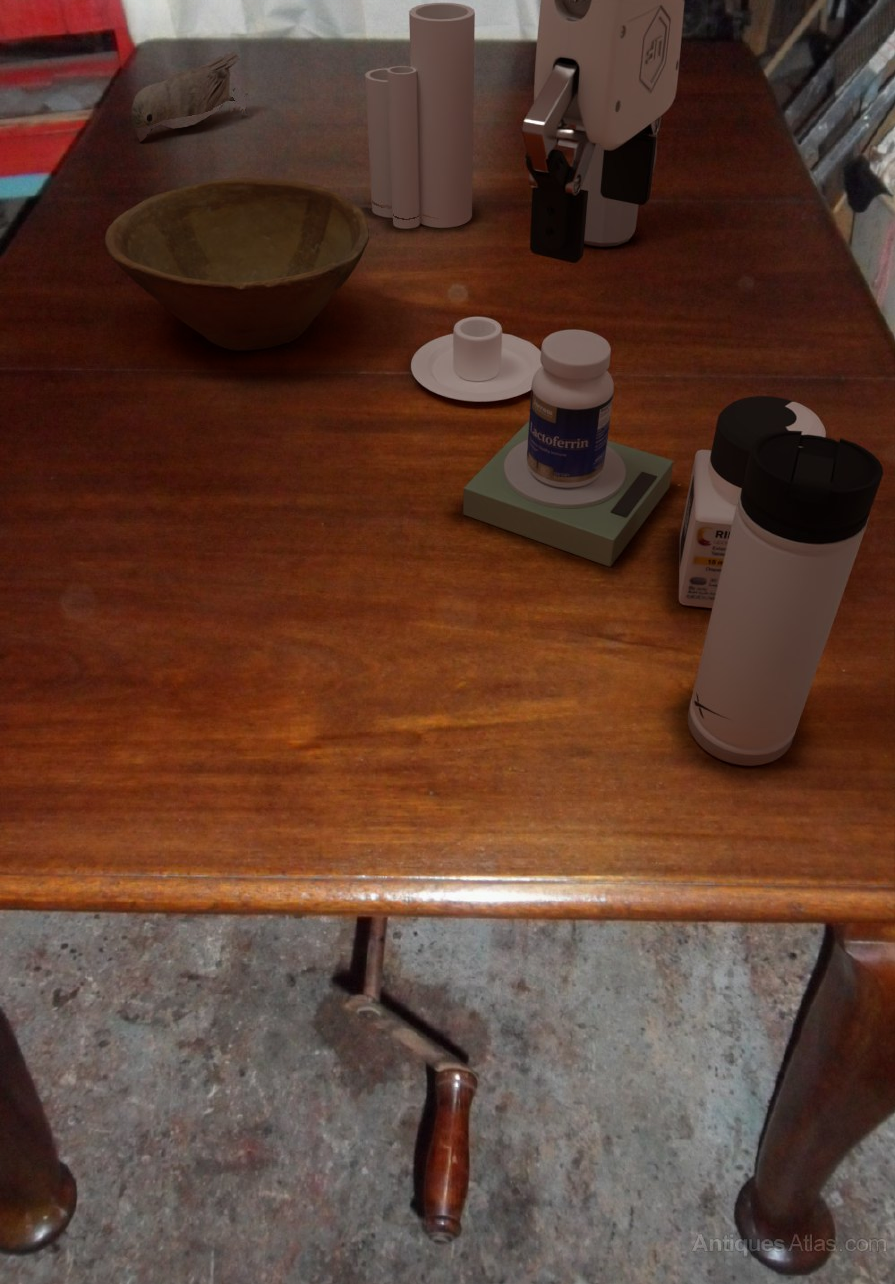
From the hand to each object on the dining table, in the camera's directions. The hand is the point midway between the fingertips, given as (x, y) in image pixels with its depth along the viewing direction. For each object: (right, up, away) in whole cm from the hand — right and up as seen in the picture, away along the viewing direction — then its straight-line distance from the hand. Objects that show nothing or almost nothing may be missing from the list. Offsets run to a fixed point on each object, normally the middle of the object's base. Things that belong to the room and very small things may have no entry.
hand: (591, 227), depth 65 cm
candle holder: (-6, -2, +29) cm, 30 cm away
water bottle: (+8, +18, +49) cm, 53 cm away
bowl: (-27, +4, +35) cm, 44 cm away
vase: (-12, +22, +53) cm, 58 cm away
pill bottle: (0, -13, +14) cm, 19 cm away
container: (+11, -21, +9) cm, 26 cm away
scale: (0, -15, +15) cm, 21 cm away
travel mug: (+9, -31, -1) cm, 32 cm away
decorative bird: (-42, +41, +73) cm, 93 cm away
